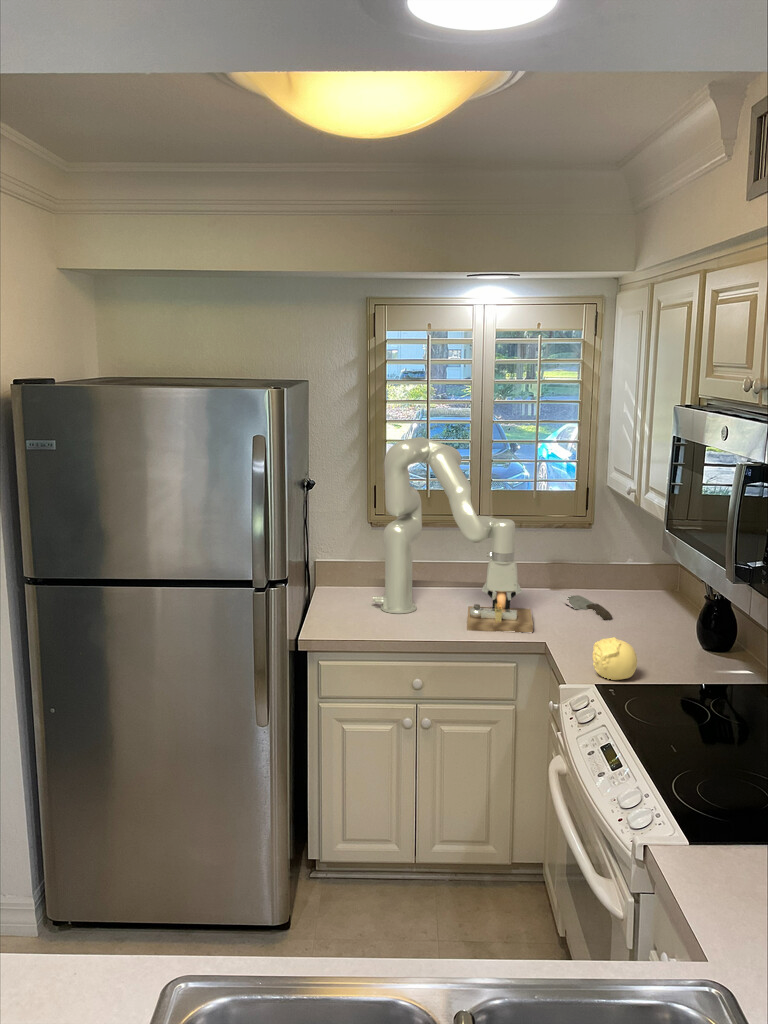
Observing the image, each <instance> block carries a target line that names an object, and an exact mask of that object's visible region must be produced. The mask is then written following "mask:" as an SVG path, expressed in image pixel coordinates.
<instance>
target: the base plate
mask: <svg viewBox="0 0 768 1024" xmlns="http://www.w3.org/2000/svg"><path fill="white" fill-rule="evenodd" d="M472 607H474V609H480V608H489V609H495V608H493V606H481V605H480V604H478V603H477V604H473V605H472V606H471V605H470V606H468V608H467V616H466V617H467V618H466V631H474V632H475V631H477V632H478V631H479V632H496V631H515V632H514V633H519V632H533V631H534V630H533V629H534V622H533V617H532V616H533V615H532V608H523V607H522V608H521V607H520V608H519V607H510V609H508V610H517V619H516V620H507V619H501V622H495V619H492V618H473V617H470V608H472Z"/></svg>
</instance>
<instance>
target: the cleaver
mask: <svg viewBox="0 0 768 1024" xmlns="http://www.w3.org/2000/svg"><path fill="white" fill-rule="evenodd" d="M570 596H571V597H568V598H569V599H567V600H569V603H570V604H571V605H572V606H573V607H574V608H575V609H585V610H588V609H593V610H592V611H594V610H595V611H596V612H595V611H594V612H595V614H596V615H597V614H598V615H597V616H599V615H600V616H599V617H600V618H601V619H602V620H603V619H605V620H604V621H610V619H611V620H612V619H613V616H612V614H611V613H610V611H608V610H607V609H606V608H605V607H604V606H602V605H600V604H599V603H595V602H593V601H591V600H589V599H588V598H586V597H584V596H582V595H577V594H576V595H570ZM575 609H574V610H575Z"/></svg>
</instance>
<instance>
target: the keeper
mask: <svg viewBox="0 0 768 1024" xmlns="http://www.w3.org/2000/svg"><path fill="white" fill-rule="evenodd" d="M501 619H502V603H495V622H501Z"/></svg>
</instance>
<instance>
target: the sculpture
mask: <svg viewBox="0 0 768 1024" xmlns="http://www.w3.org/2000/svg"><path fill="white" fill-rule="evenodd" d="M592 648H593V651H592V661H593V662H592V666H593V668H594V670H595V671H596V673H597V674H598V675H599V676H601V677H602V678H603V677H604V679H605V678H607V679H606V680H609V679H611V680H610V681H619V680H625V679H629V678H631V677H633V675H634V674H635V672H636V670H637V667H638V656H637V653H636V650H635V649H634V647H633V646H632V645H631V644H629V643H628V642H626V641H624V640H621V639H617V638H616V637H614V636H613V637H608V638H601V639H600V640H598V641H596V642H594V644H593V647H592Z"/></svg>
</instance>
